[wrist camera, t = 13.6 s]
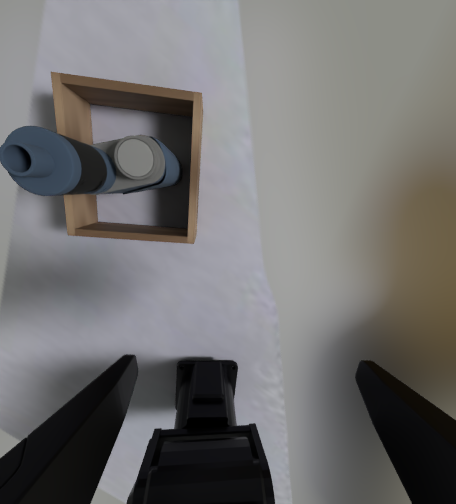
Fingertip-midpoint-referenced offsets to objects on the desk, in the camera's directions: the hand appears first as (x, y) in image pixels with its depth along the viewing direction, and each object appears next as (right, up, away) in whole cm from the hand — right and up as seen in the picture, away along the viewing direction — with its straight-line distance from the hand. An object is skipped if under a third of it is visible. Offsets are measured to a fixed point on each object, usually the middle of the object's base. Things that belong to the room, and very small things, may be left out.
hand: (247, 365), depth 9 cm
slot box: (-8, +11, +10) cm, 17 cm away
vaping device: (-7, +11, +10) cm, 16 cm away
